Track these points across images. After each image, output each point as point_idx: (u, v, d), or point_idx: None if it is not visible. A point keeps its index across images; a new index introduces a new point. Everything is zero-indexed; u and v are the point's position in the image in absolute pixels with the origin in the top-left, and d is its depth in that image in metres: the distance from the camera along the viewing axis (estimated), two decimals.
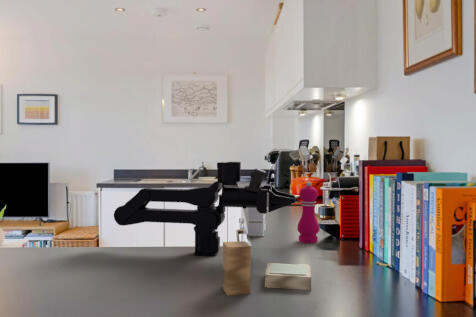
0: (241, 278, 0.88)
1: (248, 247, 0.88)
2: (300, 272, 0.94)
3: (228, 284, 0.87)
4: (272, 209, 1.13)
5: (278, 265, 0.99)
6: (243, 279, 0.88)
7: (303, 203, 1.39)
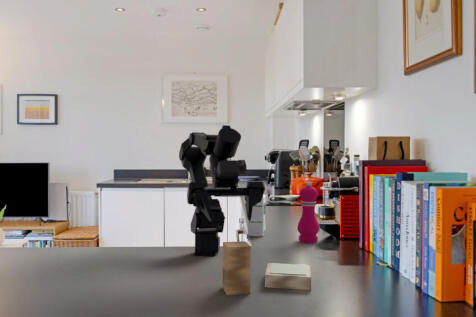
0: (241, 278, 0.88)
1: (248, 247, 0.88)
2: (300, 272, 0.94)
3: (228, 284, 0.87)
4: (199, 206, 1.02)
5: (278, 265, 0.99)
6: (243, 279, 0.88)
7: (303, 203, 1.39)
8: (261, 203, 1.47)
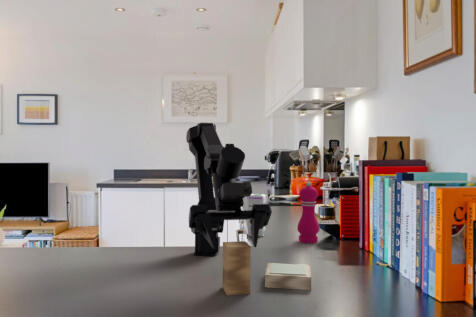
0: (241, 278, 0.88)
1: (248, 247, 0.88)
2: (300, 272, 0.94)
3: (228, 284, 0.87)
4: (201, 231, 0.96)
5: (278, 265, 0.99)
6: (243, 279, 0.88)
7: (303, 203, 1.39)
8: (261, 203, 1.47)
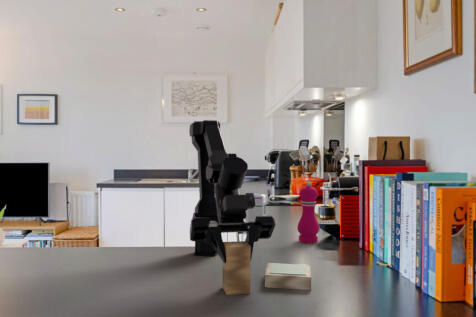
0: (241, 278, 0.88)
1: (248, 247, 0.88)
2: (300, 272, 0.94)
3: (228, 284, 0.87)
4: (211, 244, 0.93)
5: (278, 265, 0.99)
6: (243, 279, 0.88)
7: (303, 203, 1.39)
8: (261, 203, 1.47)
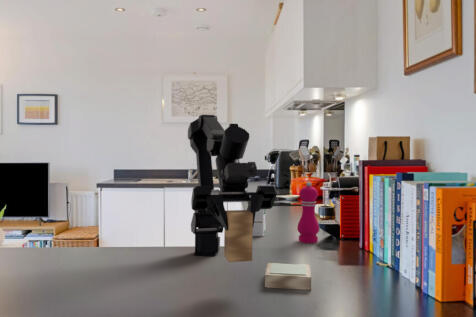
0: (243, 245, 0.88)
1: (250, 214, 0.88)
2: (300, 272, 0.94)
3: (230, 251, 0.87)
4: (213, 213, 0.93)
5: (278, 265, 0.99)
6: (245, 247, 0.88)
7: (303, 203, 1.39)
8: None
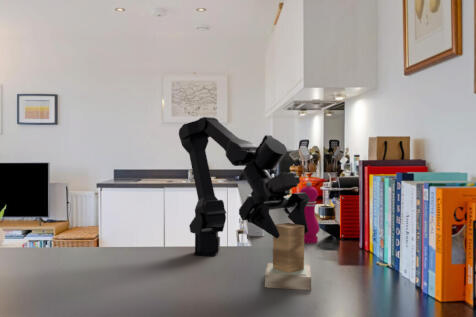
0: (298, 256, 0.95)
1: (303, 227, 0.96)
2: (300, 272, 0.94)
3: (289, 262, 0.93)
4: (254, 222, 0.96)
5: None
6: (299, 257, 0.95)
7: None
8: None
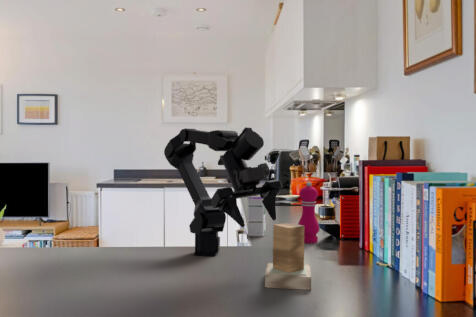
0: (298, 256, 0.95)
1: (303, 227, 0.96)
2: (300, 272, 0.94)
3: (289, 262, 0.93)
4: (224, 210, 1.05)
5: None
6: (299, 257, 0.95)
7: (303, 203, 1.39)
8: (261, 203, 1.47)
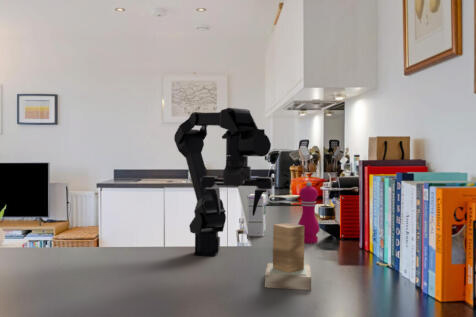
0: (298, 256, 0.95)
1: (303, 227, 0.96)
2: (300, 272, 0.94)
3: (289, 262, 0.93)
4: None
5: None
6: (299, 257, 0.95)
7: (303, 203, 1.39)
8: (261, 203, 1.47)
